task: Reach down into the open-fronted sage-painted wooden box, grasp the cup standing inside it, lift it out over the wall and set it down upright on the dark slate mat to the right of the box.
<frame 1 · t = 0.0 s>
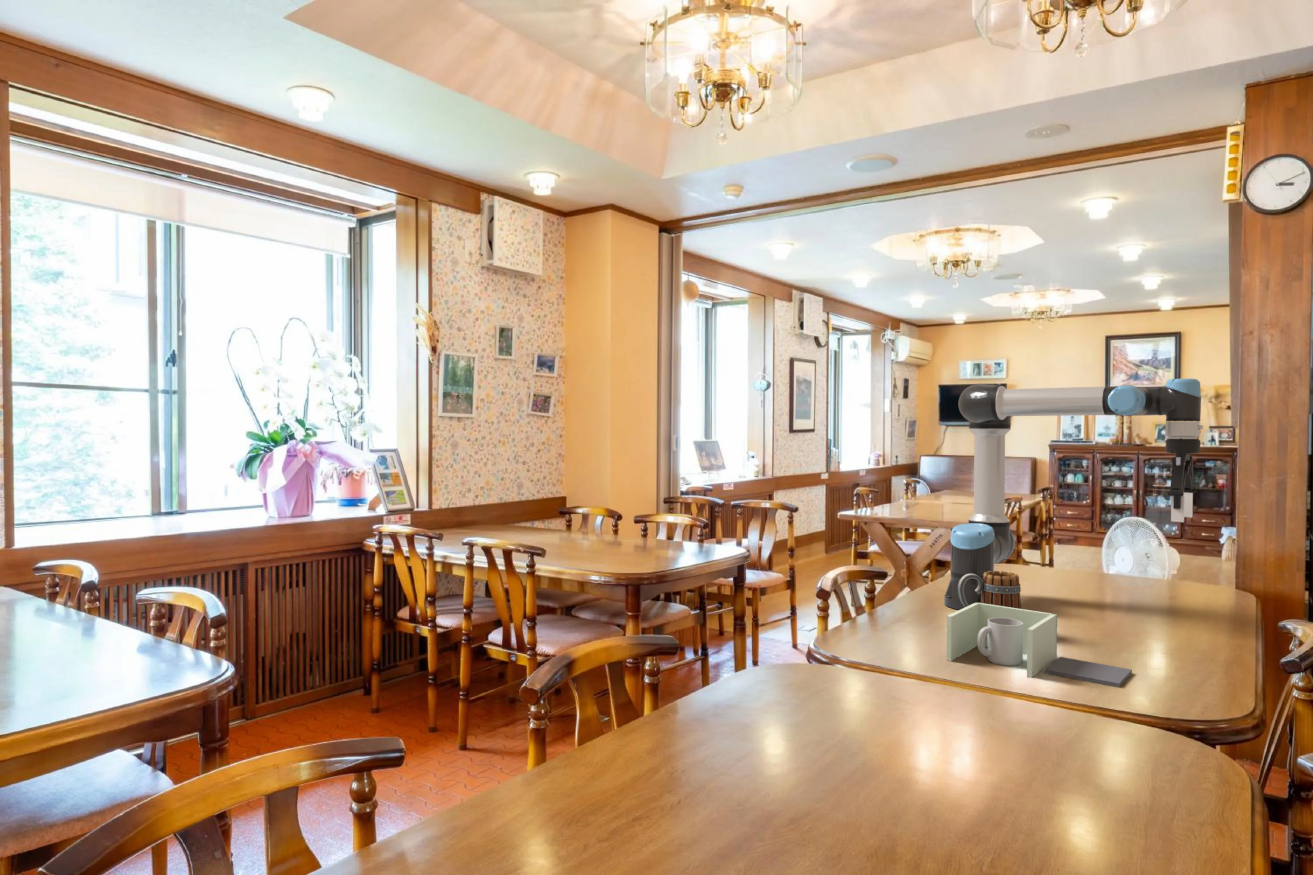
hand: (1182, 519, 206), 28 cm above the table, fingers open, 13 cm apart
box: (1001, 659, 178), on the table
mug: (990, 633, 201), on the table
cup: (998, 662, 176), on the table
mat: (1088, 672, 168), on the table
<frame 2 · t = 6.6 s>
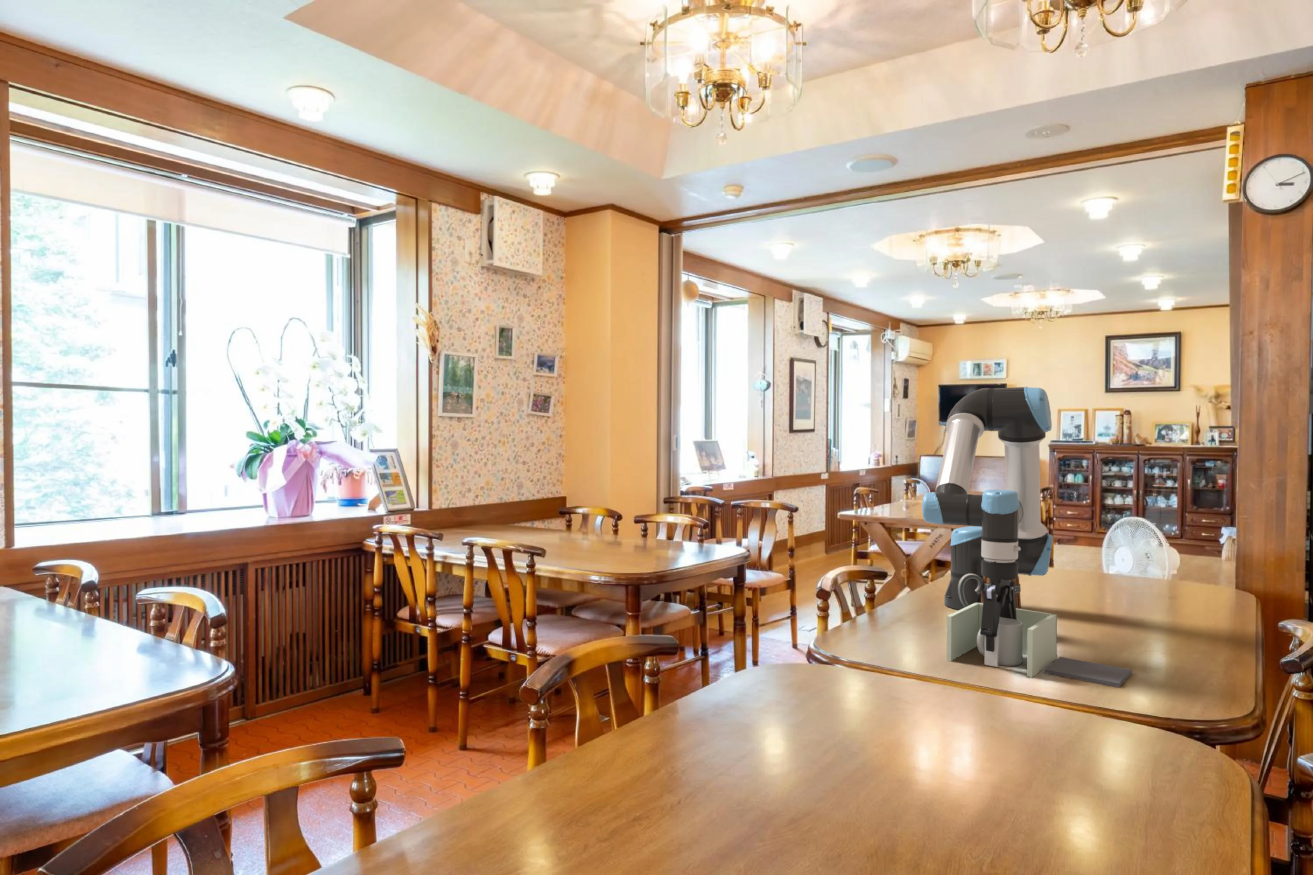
hand: (998, 660, 176), 0 cm above the table, fingers open, 9 cm apart
cup: (998, 662, 176), on the table, touching gripper
everything else where it was.
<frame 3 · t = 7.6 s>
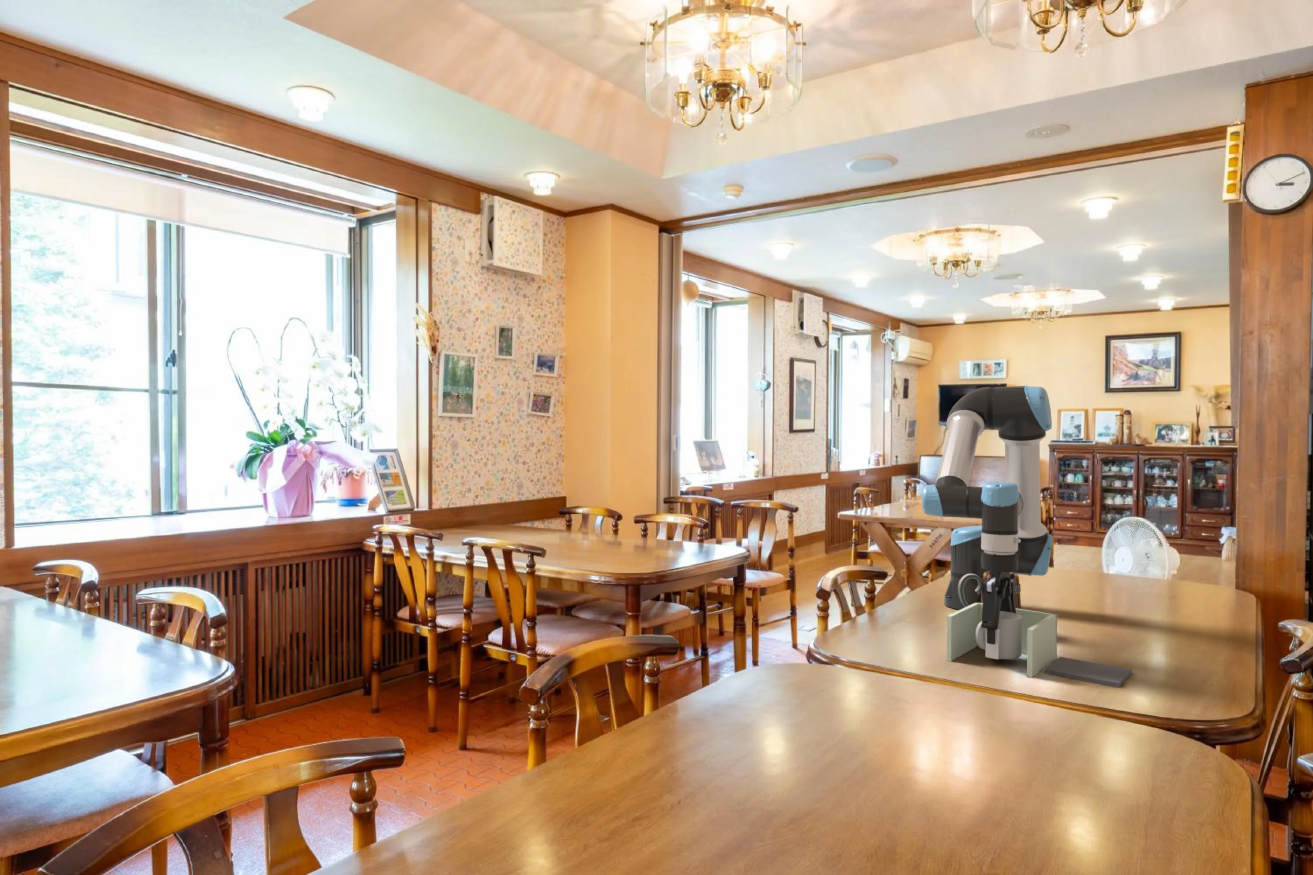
hand: (999, 653, 177), 2 cm above the table, fingers closed on cup, 8 cm apart
cup: (997, 655, 176), point 1 cm above the table, touching gripper
everything else where it was.
when the fingers open (2 cm above the table, at t = 13.4 s): cup stays where it is, resting on mat.
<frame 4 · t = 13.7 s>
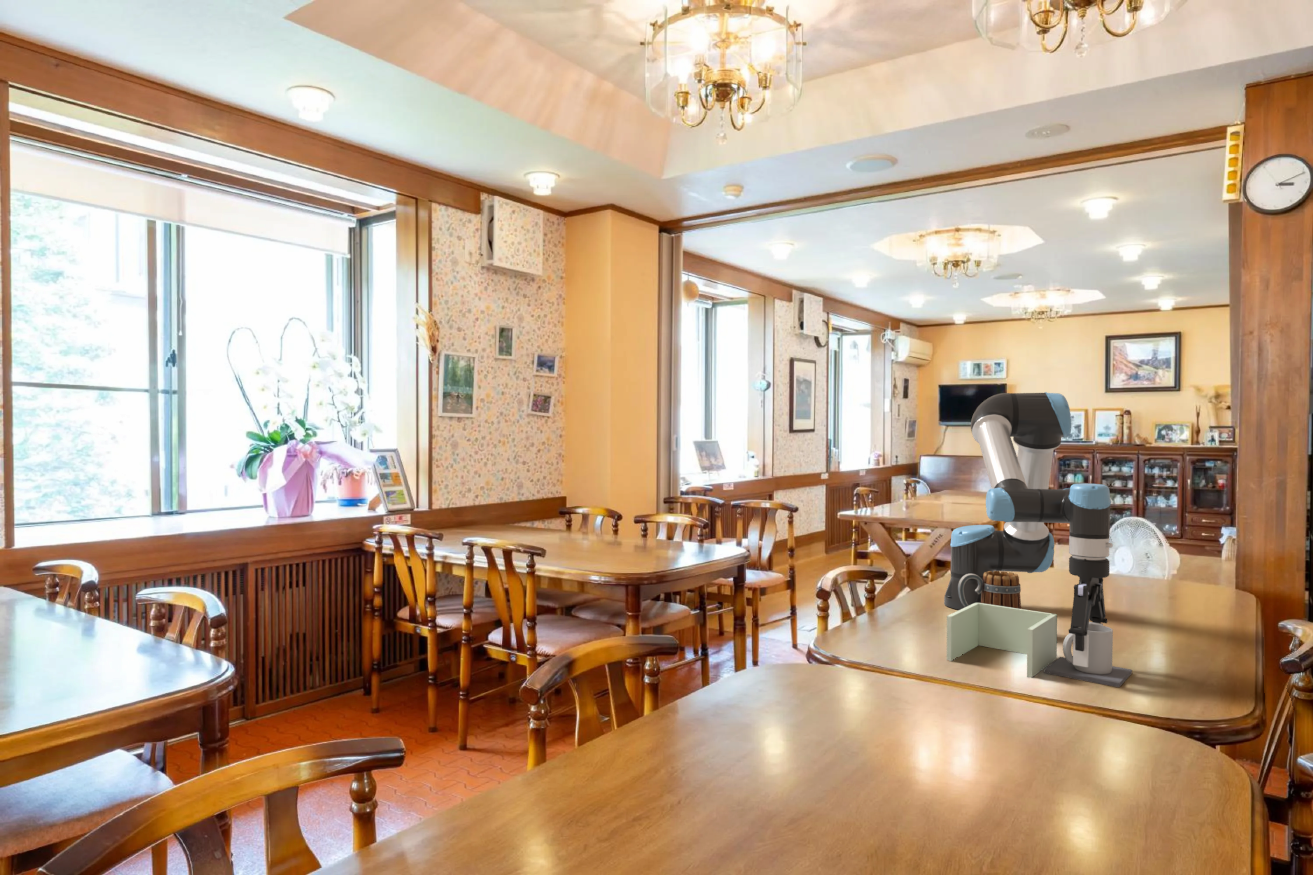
hand: (1088, 659, 168), 3 cm above the table, fingers open, 11 cm apart
cup: (1086, 670, 168), point 1 cm above the table, touching mat
everything else where it was.
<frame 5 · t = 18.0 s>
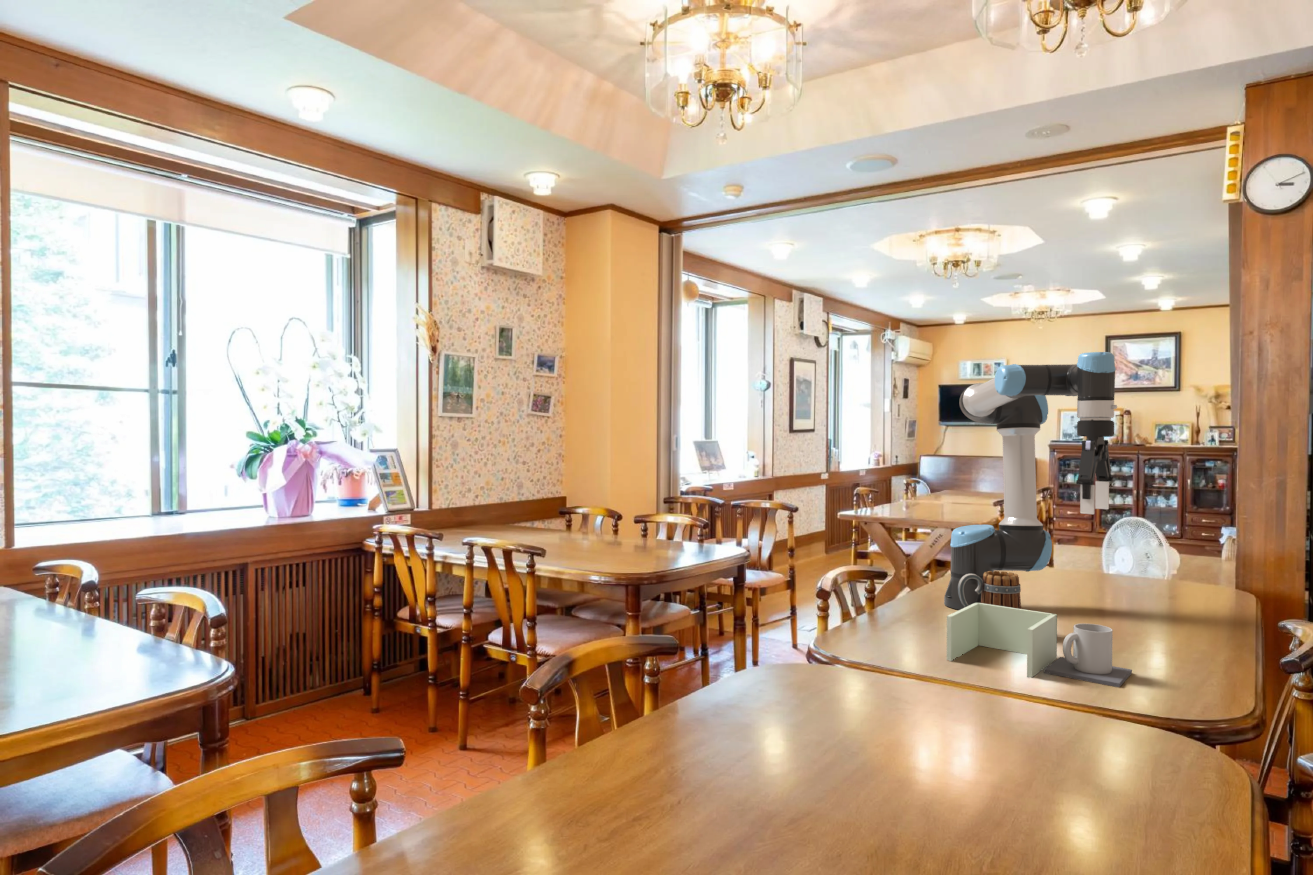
hand: (1094, 511, 183), 33 cm above the table, fingers open, 13 cm apart
nothing on the table moved.
at the end: cup inside the target area on the mat (0.6 cm from its centre), point 0.6 cm above the mat's base; cup tilted 0°; the gripper is holding nothing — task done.
